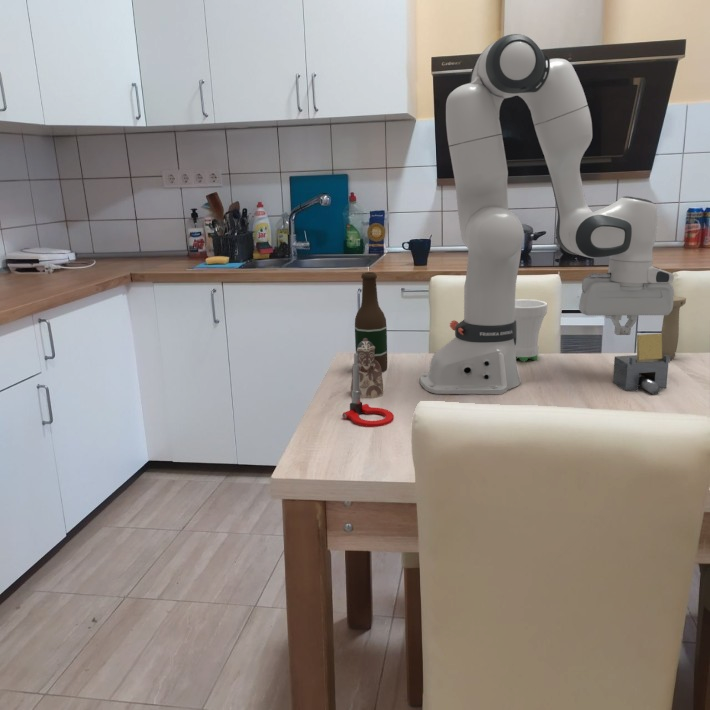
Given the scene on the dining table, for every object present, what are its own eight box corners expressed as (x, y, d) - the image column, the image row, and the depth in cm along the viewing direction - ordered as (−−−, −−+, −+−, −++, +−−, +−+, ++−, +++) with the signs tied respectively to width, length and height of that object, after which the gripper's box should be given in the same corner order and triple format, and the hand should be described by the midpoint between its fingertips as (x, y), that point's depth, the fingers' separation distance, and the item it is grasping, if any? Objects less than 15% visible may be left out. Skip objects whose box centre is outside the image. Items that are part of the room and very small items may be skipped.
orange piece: (643, 394, 140) (644, 379, 139) (616, 378, 151) (617, 363, 150) (665, 393, 140) (667, 378, 139) (637, 377, 152) (638, 362, 151)
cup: (501, 363, 167) (502, 307, 163) (498, 352, 177) (499, 299, 174) (548, 363, 165) (550, 307, 161) (542, 352, 176) (544, 298, 172)
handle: (684, 358, 165) (690, 298, 161) (668, 362, 162) (673, 301, 158) (667, 354, 169) (672, 295, 166) (650, 358, 166) (655, 298, 162)
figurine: (348, 398, 145) (346, 344, 142) (353, 388, 152) (351, 336, 149) (381, 398, 144) (380, 344, 141) (384, 388, 151) (383, 336, 148)
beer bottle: (385, 374, 161) (383, 275, 155) (353, 374, 162) (350, 275, 156) (389, 365, 168) (387, 270, 162) (358, 365, 170) (355, 270, 164)
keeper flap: (636, 335, 140) (634, 335, 141) (636, 363, 141) (634, 362, 141) (664, 333, 141) (662, 333, 141) (664, 361, 141) (662, 361, 142)
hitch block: (628, 392, 142) (630, 358, 140) (612, 382, 149) (615, 350, 147) (669, 389, 143) (672, 356, 141) (652, 380, 150) (654, 348, 148)
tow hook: (402, 420, 132) (367, 408, 138) (403, 357, 129) (367, 348, 135) (374, 432, 126) (338, 420, 132) (374, 367, 123) (338, 357, 129)
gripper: (589, 274, 143) (583, 338, 147) (681, 275, 145) (672, 337, 148) (577, 270, 149) (571, 331, 153) (665, 271, 151) (657, 331, 154)
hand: (622, 334), depth 151 cm, fingers closed
